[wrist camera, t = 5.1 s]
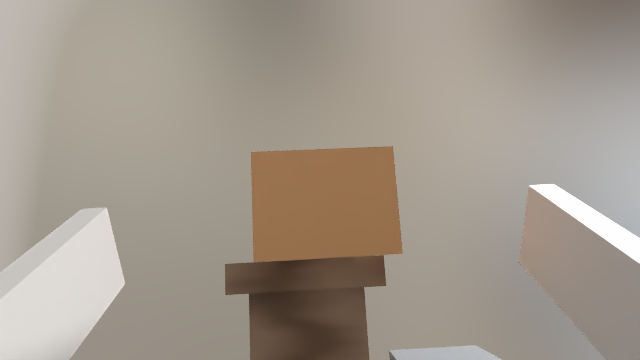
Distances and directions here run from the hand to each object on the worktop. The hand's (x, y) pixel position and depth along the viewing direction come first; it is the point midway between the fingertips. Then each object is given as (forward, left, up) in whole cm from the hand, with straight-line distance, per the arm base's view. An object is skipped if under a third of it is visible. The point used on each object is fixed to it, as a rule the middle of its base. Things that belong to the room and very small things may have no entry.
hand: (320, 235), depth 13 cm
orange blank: (0, +11, -1) cm, 11 cm away
